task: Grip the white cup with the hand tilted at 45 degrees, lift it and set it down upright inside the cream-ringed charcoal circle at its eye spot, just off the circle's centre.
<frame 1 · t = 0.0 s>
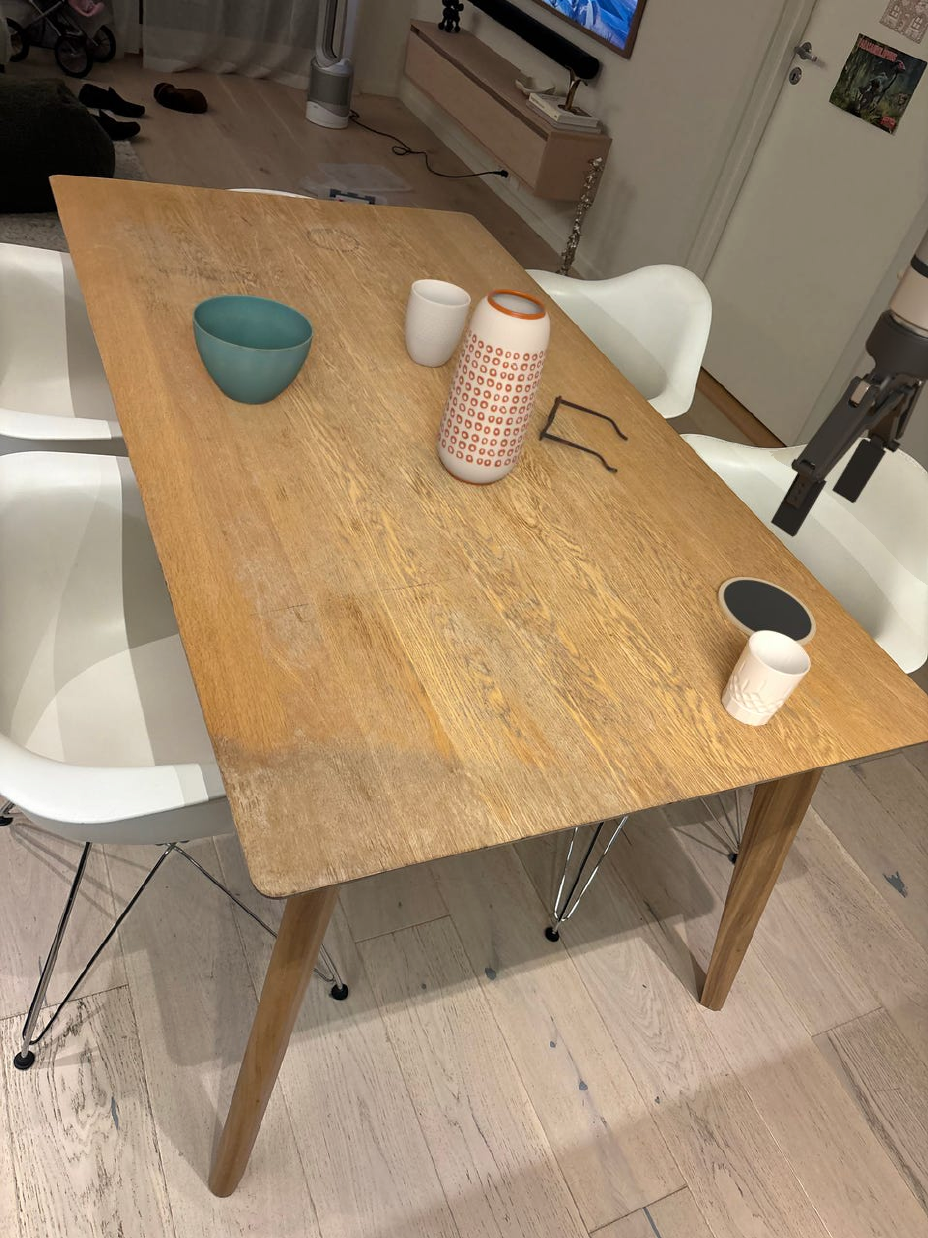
hand: (814, 511, 97), 30 cm above the table, tool pointing down, fingers open, 13 cm apart
mug: (424, 357, 173), on the table
eyeglasses: (582, 443, 162), on the table
teal bowl: (248, 392, 149), on the table
white cup: (744, 708, 119), on the table
patterned vase: (471, 471, 147), on the table
face circle: (765, 612, 136), on the table
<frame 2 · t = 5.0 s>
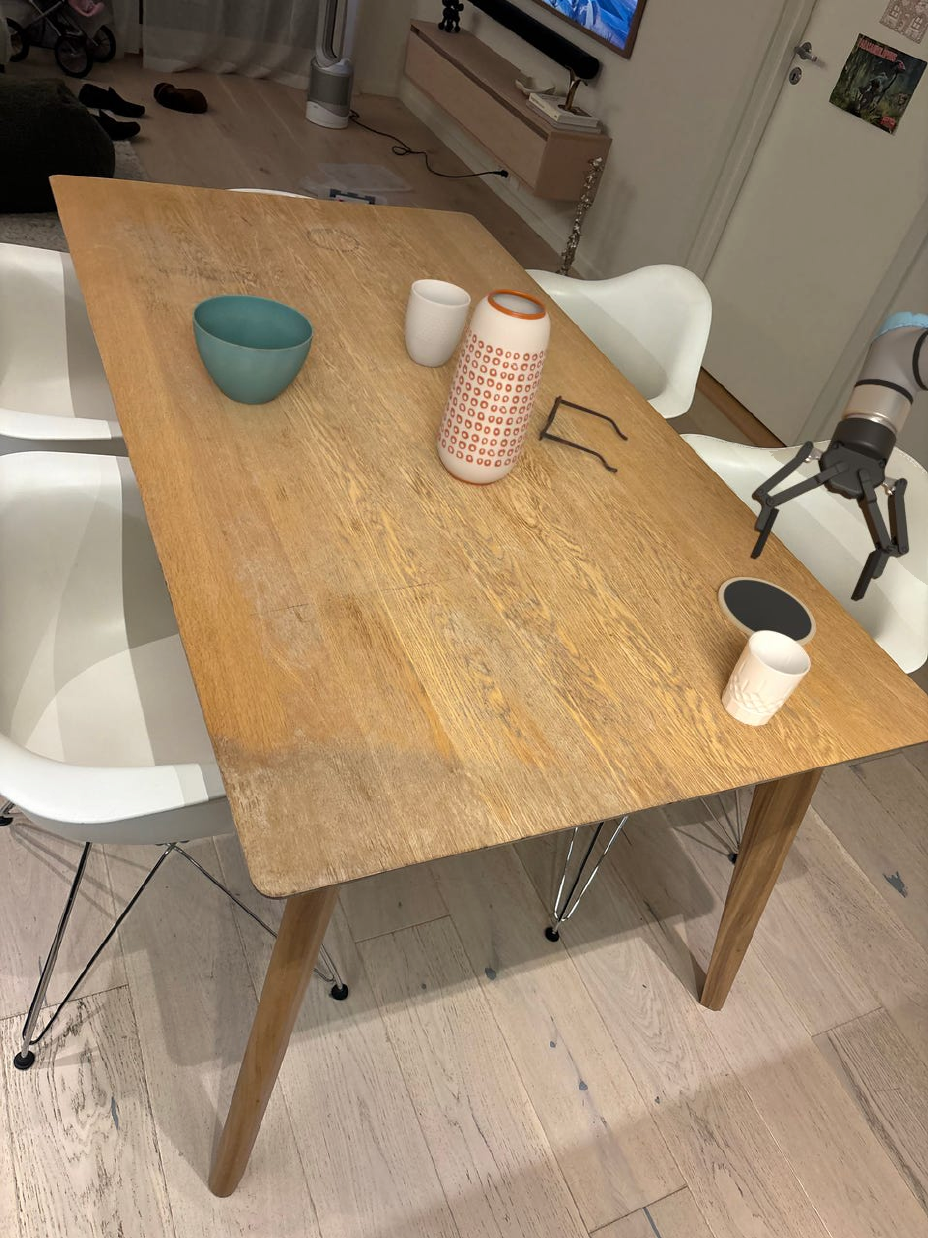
hand: (805, 577, 117), 15 cm above the table, tool tilted 45°, fingers open, 13 cm apart
nothing on the table moved.
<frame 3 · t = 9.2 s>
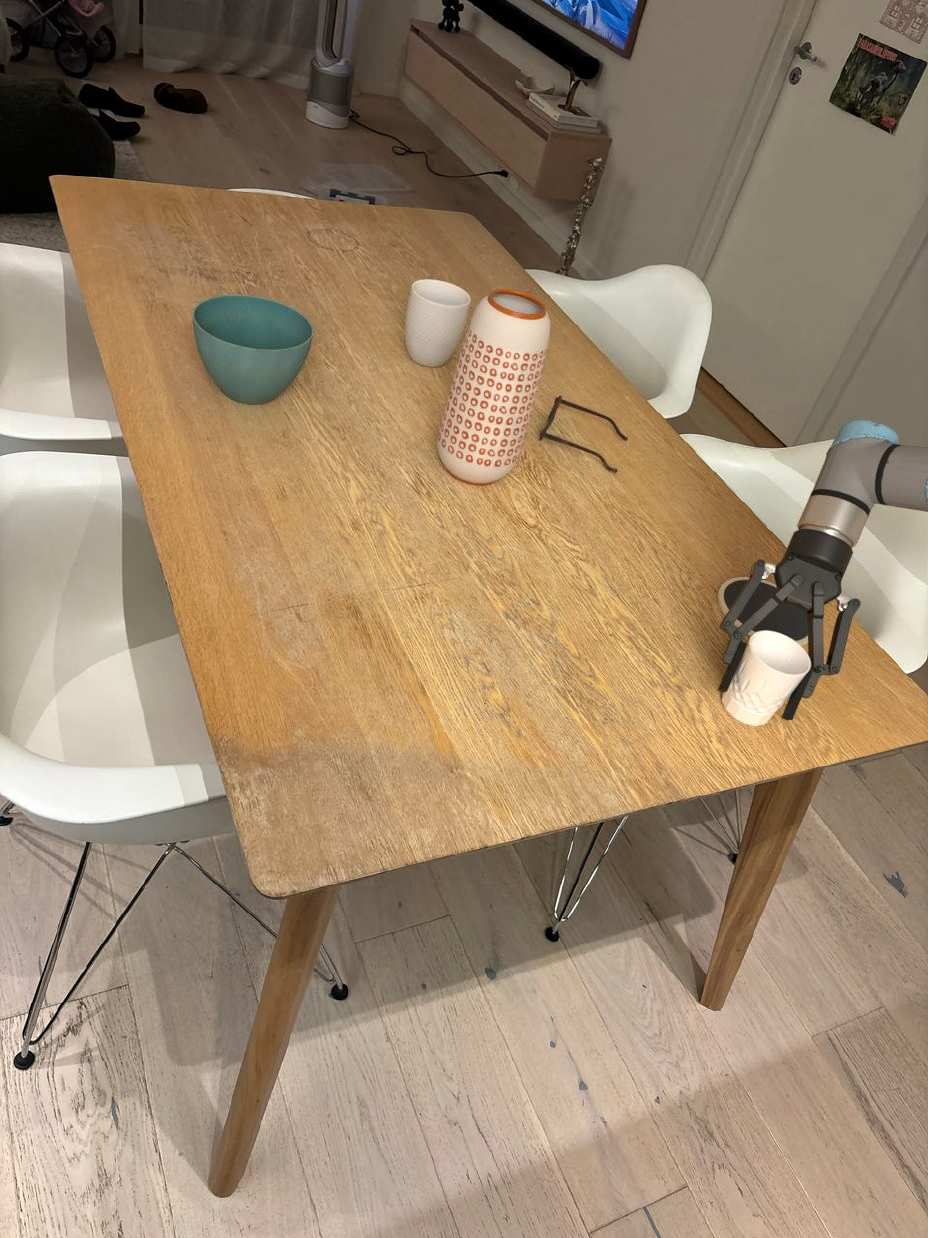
hand: (754, 704, 114), 4 cm above the table, tool tilted 45°, fingers closed on white cup, 8 cm apart
white cup: (744, 708, 119), on the table, touching gripper
everything else where it was.
when the fingers open (4 cm above the table, at t = 18.1 s): white cup stays where it is, resting on face circle.
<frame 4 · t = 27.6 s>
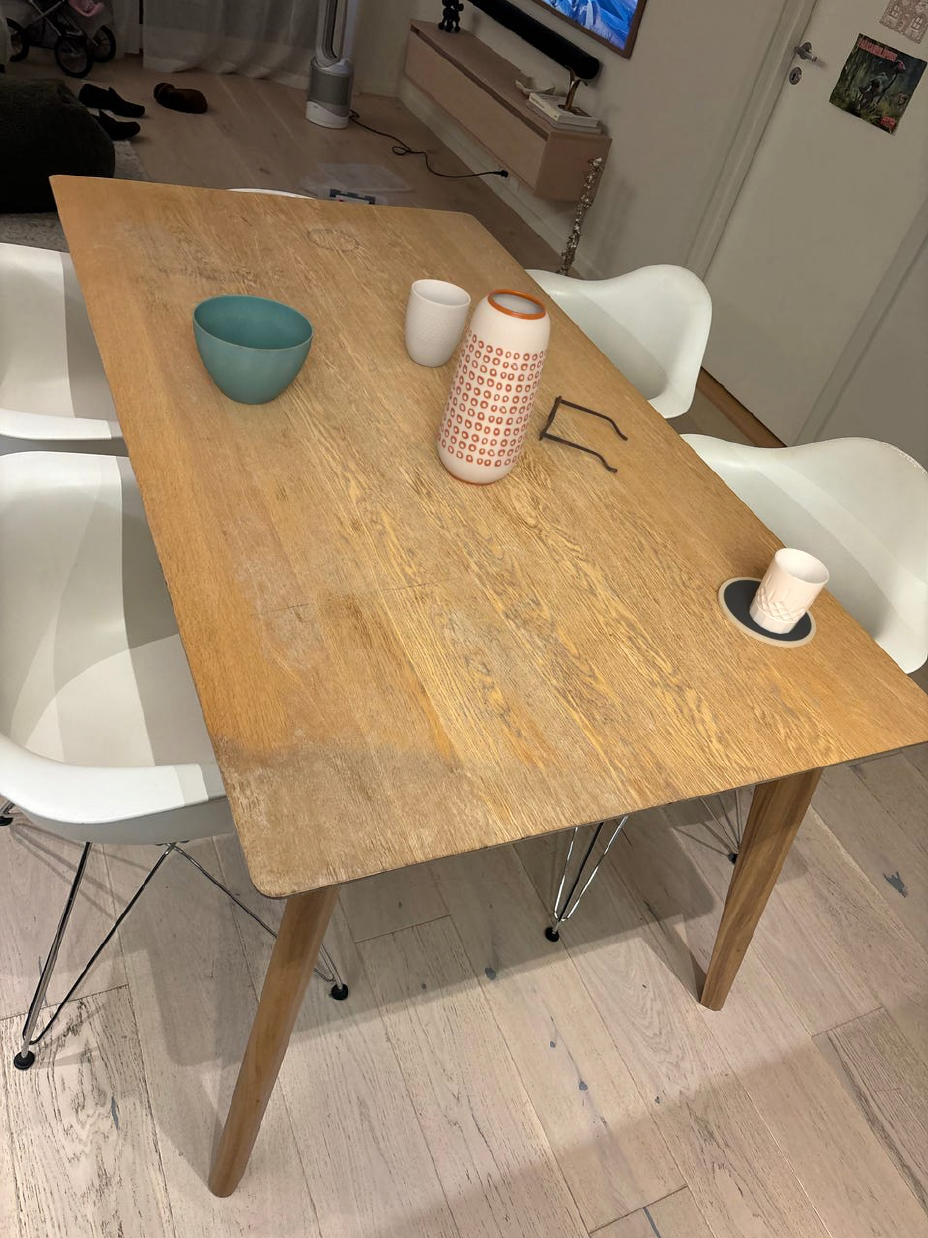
white cup: (770, 619, 134), resting on face circle
everything else where it was.
at the end: white cup 0.7 cm from the target spot on the face circle, point 0.4 cm above the face circle's base; white cup tilted 0°; the gripper is holding nothing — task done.
